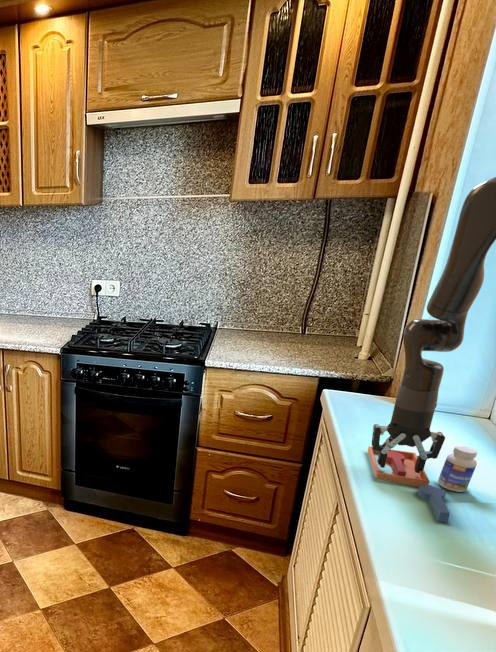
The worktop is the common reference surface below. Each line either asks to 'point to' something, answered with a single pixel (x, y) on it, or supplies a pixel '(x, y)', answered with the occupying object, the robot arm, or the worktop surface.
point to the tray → (409, 465)
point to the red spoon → (396, 462)
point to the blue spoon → (435, 501)
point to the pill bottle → (458, 469)
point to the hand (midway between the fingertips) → (398, 468)
